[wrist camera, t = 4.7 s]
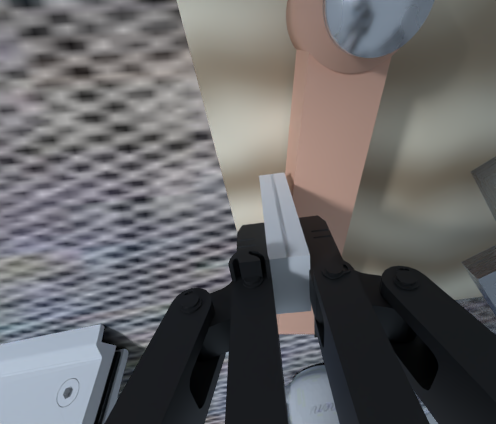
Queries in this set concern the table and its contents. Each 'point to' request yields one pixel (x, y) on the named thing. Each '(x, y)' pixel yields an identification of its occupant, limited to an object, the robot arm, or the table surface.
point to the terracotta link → (327, 129)
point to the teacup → (311, 398)
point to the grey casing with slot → (60, 378)
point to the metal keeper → (491, 260)
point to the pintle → (373, 24)
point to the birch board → (383, 137)
